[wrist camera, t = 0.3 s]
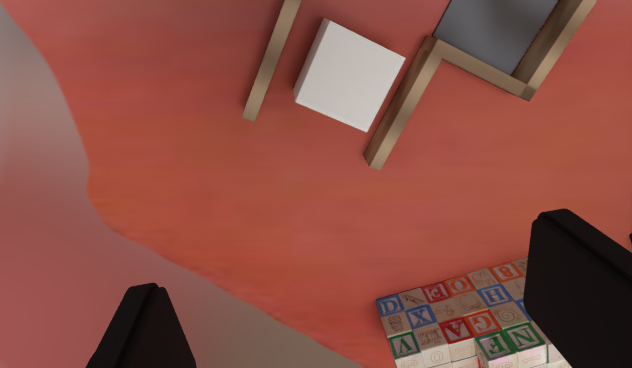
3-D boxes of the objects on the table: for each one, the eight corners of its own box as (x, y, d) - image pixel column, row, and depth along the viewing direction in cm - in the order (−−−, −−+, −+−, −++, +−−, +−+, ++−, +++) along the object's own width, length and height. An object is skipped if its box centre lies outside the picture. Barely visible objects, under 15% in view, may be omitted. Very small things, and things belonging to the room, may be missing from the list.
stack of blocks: (383, 330, 53) (411, 419, 42) (374, 298, 50) (401, 384, 39) (535, 288, 52) (604, 368, 41) (534, 253, 49) (609, 328, 38)
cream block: (323, 17, 34) (330, 20, 30) (389, 50, 36) (405, 58, 32) (292, 89, 37) (295, 102, 32) (356, 116, 39) (366, 132, 34)
